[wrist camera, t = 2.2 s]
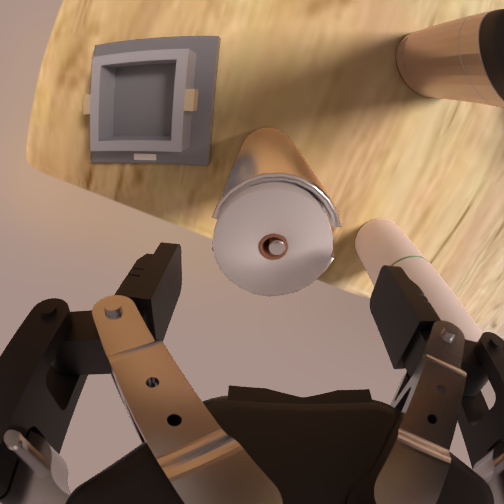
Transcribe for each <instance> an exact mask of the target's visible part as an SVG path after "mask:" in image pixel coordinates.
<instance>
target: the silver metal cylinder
mask: <svg viewBox="0 0 504 504" xmlns="http://www.w3.org/2000/svg"><path fill="white" fill-rule="evenodd" d="M325 212H326V214H327V216H328V218H329V220H330V222H331V224H332V226H333V227H334V228H335V227H341V223H340V218H339V214H338V210H337V209H336V207H335V205H334V203H333V202H332V200H331V198H330V197H329V195H328V193H327V192H326V190H325V189H324V187H323V186H322V184H321V183H320V181H319V180H318V178H317V177H316V175H315V174H314V172H313V171H312V169H311V168H310V166H309V165H308V163H307V162H306V161H305V159H304V158H303V156H302V155H301V153H300V152H299V151H298V149H297V148H296V146H295V145H294V143H293V142H292V141H291V139H290V138H289V136H287V135H286V134H285V133H284V132H283V131H281V130H279V129H276V128H271V127H265V128H260V129H257V130H255V131H253V132H252V133H250V134H249V135H248V136H247V138H246V139H245V141H244V143H243V145H242V147H241V149H240V152H239V154H238V156H237V158H236V161H235V163H234V165H233V168H232V170H231V172H230V175H229V177H228V179H227V182H226V184H225V186H224V189H223V191H222V194H221V196H220V198H219V201H218V203H217V206H216V208H215V211H214V213H213V215H212V218H215V219H218V220H217V223H216V226H215V229H214V235H213V243H212V244H213V246H212V250H213V252H214V255H215V259H216V261H217V263H218V266H219V268H220V270H221V271H222V272H223V273H224V275H225V276H226V277H227V278H228V279H229V280H230V281H231V282H233V283H234V284H236V285H237V286H239V287H240V288H242V289H244V290H246V291H249V292H251V293H253V294H257V295H263V296H277V295H284V294H289V293H293V292H297V291H299V290H301V289H303V288H304V287H306V286H308V285H310V284H311V283H312V282H313V281H315V280H316V279H317V278H318V277H319V276H320V275H321V274H322V273H323V272H325V271H326V270H327V268H328V267H329V266H330V264H331V263H332V261H333V260H334V258H335V254H334V252H333V234H332V230H331V226H330V222H329V220H328V218H327V216H326V214H325Z"/></svg>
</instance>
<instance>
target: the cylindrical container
mask: <svg viewBox="0 0 504 504" xmlns="http://www.w3.org/2000/svg"><path fill="white" fill-rule="evenodd" d="M355 249H356V252H357V254H358V256H359V258H360V260H361V262H362V263H363V265H364V267H365V269H366V271H367V273H368V275H369V277H370V279H371V281H372V283H373V285H374V287H375V284H376V281H377V278H378V275H379V272H380V269H381V268H382V266H384V265H389V266H399V267H401V268H402V269H403V270H404V272H405V273H406V275H407V276H408V277H409V279H411V280H412V281H413V282H414V283H415V284H417V285H418V286H419V287H420V289H421V290H422V292H423V293H424V296H426V298H427V299H428V302H430V304H431V305H432V307H433V308H434V310H435V312H436V313H437V315H438V316H439V318H440V319H441V320H443V321H448V322H450V323H453V324H454V325H456V326H457V327H458V328H459V329H460V330H461V331H462V332H463V334H464V337H465V339H466V340H470V341H475V342H478V340H479V339H480V337H481V335H482V334H483V333H482V332H481V330H480V329H479V328H478V326H477V325H476V323H475V322H474V320H473V319H472V317H471V316H470V315H469V313H468V312H467V310H466V309H465V308H464V306H463V305H462V304H461V302H460V301H459V300H458V298H457V297H456V296H455V294H454V293H453V292H452V290H451V289H450V288H449V286H448V285H447V284H446V283H445V281H444V280H443V279H442V277H441V276H440V275H439V274H438V272H437V271H436V270H435V269H434V268H433V266H432V265H431V264H430V263H429V262H428V260H427V259H426V258H425V257H424V256H423V254H422V253H421V252H420V251H419V250H418V249H417V247H416V246H415V245H414V244H413V243H412V242H411V240H410V239H409V238H408V237H407V236H406V235H405V234H404V233H403V231H402V230H401V229H400V228H399V227H398V226H397V225H396V224H395V223H394V222H393V221H391V220H390V219H387V218H376V219H373V220H370V221H368V222H367V223H366V224H364V225H363V226H362V227H361V228H360V230H359V232H358V233H357V236H356V239H355Z"/></svg>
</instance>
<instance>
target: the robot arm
mask: <svg viewBox="0 0 504 504" xmlns="http://www.w3.org/2000/svg"><path fill="white" fill-rule="evenodd" d="M396 61H397V66H398V69H399V72H400V74H401V76H402V78H403V80H404V81H405V82H406V84H407V85H408V86H409V87H410V88H411V89H412V90H414V91H415V92H416V93H418V94H420V95H422V96H425V97H433V98H442V99H451V100H459V101H467V102H474V103H480V104H487V105H492V106H499V107H504V9H500V10H495V11H490V12H485V13H480V14H476V15H472V16H468V17H464V18H460V19H457V20H453V21H449V22H446V23H442V24H439V25H435V26H432V27H429V28H426V29H423V30H420V31H417V32H414V33H411V34H408V35H407V36H405V37H404V38H403V39H402V40H401V41H400V43H399V45H398V47H397V52H396ZM181 268H182V267H181V246H180V244H171V243H160V245H159V246H158V248H157V249H156V251H155V253H154V254H146V255H144V256H143V257H141V258H140V259H138V260H137V261H136V263H135V264H134V266H133V267H132V269H131V270H130V272H129V273H128V275H127V276H126V278H125V279H124V281H123V282H122V284H121V285H120V287H119V289H118V290H117V292H116V293H115V295H112V296H108V297H105V298H103V299H101V300H99V301H98V302H97V303H96V304H95V305H94V306H93V309H92V310H91V311H77V312H70V310H69V307H68V304H67V303H66V302H65V301H63V300H61V299H56V298H54V299H53V298H52V299H47V300H44V301H42V302H40V303H38V304H37V305H36V306H35V307H34V308H33V309H32V310H31V312H30V313H29V315H28V316H27V317H26V319H25V320H24V322H23V323H22V324H21V326H20V327H19V329H18V330H17V332H16V333H15V335H14V336H13V338H12V339H11V341H10V342H9V344H8V345H7V347H6V348H5V350H4V351H3V353H2V355H1V356H0V504H504V341H503V340H502V339H501V338H500V337H499V336H497V335H496V334H494V333H491V332H485V333H483V334H482V335H481V337H480V339H479V340H478V342H475V341H470V340H466V339H465V337H464V334H463V332H462V331H461V330H460V329H459V328H458V327H457V326H456V325H454V324H453V323H450V322H448V321H443V320H441V319H440V318H439V316H438V315H437V313H436V312H435V310H434V308H433V307H432V305H431V304H430V302H428V299H427V298H426V296H424V293H423V292H422V290H421V289H420V287H419V286H418V285H417V284H415V283H414V282H413V281H412V280H411V279H409V277H408V276H407V275H406V273H405V272H404V270H403V269H402V268H401V267H399V266H389V265H384V266H382V268H381V269H380V272H379V275H378V278H377V281H376V284H375V287H374V290H373V292H372V295H371V299H370V310H371V313H372V315H373V318H374V320H375V322H376V325H377V327H378V330H379V332H380V335H381V337H382V339H383V342H384V344H385V347H386V349H387V352H388V355H389V357H390V360H391V362H392V365H393V368H394V369H403V368H406V370H407V372H406V373H405V375H404V376H403V378H402V381H401V383H400V385H399V387H398V389H397V392H396V394H395V396H394V398H393V400H392V402H391V405H388V404H385V403H383V402H380V401H376V400H372V398H371V394H370V391H369V389H366V390H337V391H333V392H329V393H324V394H320V395H315V396H310V397H303V398H302V397H297V396H293V395H289V394H285V393H281V392H277V391H273V390H269V389H266V388H251V387H239V386H229V391H228V396H221V397H217V398H212V399H209V400H206V401H203V402H202V401H201V399H200V398H199V397H198V395H197V394H196V392H195V391H194V389H193V388H192V386H191V385H190V383H189V382H188V380H187V379H186V378H185V376H184V374H183V373H182V371H181V370H180V368H179V367H178V365H177V364H176V362H175V361H174V359H173V357H172V356H171V354H170V353H169V351H168V349H167V348H166V346H165V345H164V343H163V340H164V337H165V334H166V331H167V328H168V325H169V323H170V320H171V317H172V314H173V311H174V309H175V306H176V303H177V301H178V298H179V295H180V291H181V285H182V269H181ZM88 374H111V376H112V378H113V381H114V383H115V385H116V388H117V390H118V393H119V395H120V397H121V399H122V402H123V404H124V406H125V408H126V410H127V413H128V415H129V417H130V419H131V421H132V424H133V426H134V428H135V430H136V432H137V434H138V436H139V438H140V440H141V442H142V444H141V445H140V446H138V447H137V448H135V449H134V450H132V451H131V452H130V453H128V454H127V455H125V456H124V457H122V458H121V459H120V460H118V461H116V462H115V463H114V464H112V465H111V466H109V467H108V468H106V469H105V470H103V471H102V472H100V473H98V474H97V475H95V476H94V477H92V478H91V479H89V480H88V481H86V482H84V483H83V484H81V485H80V486H78V487H77V488H76V489H75V490H74V491H73V492H72V493H70V491H69V488H68V482H67V479H68V468H67V465H66V463H65V461H64V459H63V458H62V457H61V456H60V455H59V453H60V450H61V447H62V444H63V441H64V438H65V435H66V432H67V429H68V426H69V424H70V420H71V418H72V415H73V412H74V409H75V407H76V404H77V401H78V399H79V396H80V394H81V391H82V389H83V386H84V383H85V381H86V379H87V376H88ZM488 380H489V381H490V383H491V385H492V387H493V389H494V391H495V394H496V401H495V404H494V406H493V407H492V408H491V409H490V410H489V409H488V406H487V404H486V402H485V399H484V397H483V395H482V392H481V389H482V388H483V386H484V385H485V384H486V383H487V381H488ZM457 420H458V423H459V426H460V429H461V432H462V435H463V438H464V441H465V445H466V448H467V451H468V454H469V458H470V462H471V465H472V469H473V470H472V469H471V468H469V467H468V466H467V465H466V464H464V463H463V462H462V461H460V460H459V459H458V458H457V457H456V456H454V455H453V454H452V453H451V452H449V449H450V446H451V442H452V439H453V435H454V431H455V427H456V424H457Z"/></svg>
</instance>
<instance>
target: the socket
mask: <svg viewBox="0 0 504 504" xmlns="http://www.w3.org/2000/svg"><path fill="white" fill-rule="evenodd" d="M219 48H220V37H219V36H180V37H161V38H148V39H137V40H128V41H121V42H113V43H107V44H101V45H95V49H94V57H93V62H92V75H91V93H90V94H86V95H83V114H90V151H91V162H123V163H161V164H182V165H199V166H208V165H209V164H210V152H211V137H212V123H213V111H214V99H215V88H216V77H217V67H218V57H219Z"/></svg>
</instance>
